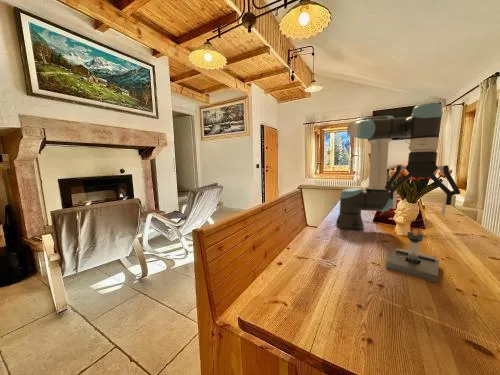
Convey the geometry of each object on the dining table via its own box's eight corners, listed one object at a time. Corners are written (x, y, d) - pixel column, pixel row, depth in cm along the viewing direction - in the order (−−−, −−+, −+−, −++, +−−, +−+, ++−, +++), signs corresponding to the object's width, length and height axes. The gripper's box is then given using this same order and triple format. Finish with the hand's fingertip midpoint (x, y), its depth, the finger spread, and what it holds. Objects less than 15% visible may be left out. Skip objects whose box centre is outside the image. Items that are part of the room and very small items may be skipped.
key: (405, 262, 78) (408, 228, 76) (419, 266, 75) (423, 230, 73) (404, 268, 74) (407, 231, 72) (419, 272, 71) (423, 234, 70)
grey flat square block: (385, 267, 75) (386, 257, 74) (393, 255, 84) (394, 245, 84) (436, 283, 65) (438, 271, 64) (438, 266, 75) (439, 256, 74)
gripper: (378, 152, 75) (374, 207, 78) (478, 149, 58) (468, 219, 61) (383, 152, 81) (379, 204, 84) (475, 149, 63) (467, 214, 66)
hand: (417, 211), depth 72 cm, fingers open, 13 cm apart
